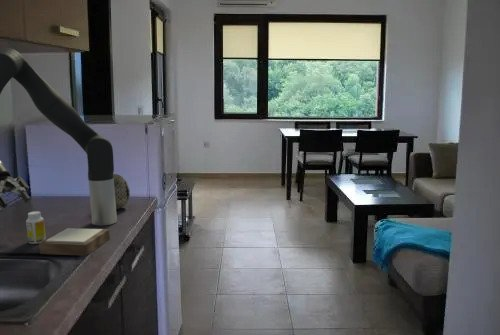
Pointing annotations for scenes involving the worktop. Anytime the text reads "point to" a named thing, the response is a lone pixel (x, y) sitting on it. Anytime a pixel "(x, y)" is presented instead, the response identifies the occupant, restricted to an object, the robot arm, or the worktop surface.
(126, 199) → the decorative egg
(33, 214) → the supplement bottle
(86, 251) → the walnut stand
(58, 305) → the worktop surface
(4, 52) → the robot arm
